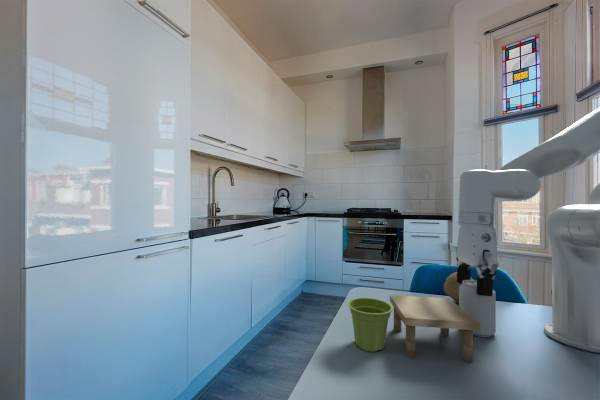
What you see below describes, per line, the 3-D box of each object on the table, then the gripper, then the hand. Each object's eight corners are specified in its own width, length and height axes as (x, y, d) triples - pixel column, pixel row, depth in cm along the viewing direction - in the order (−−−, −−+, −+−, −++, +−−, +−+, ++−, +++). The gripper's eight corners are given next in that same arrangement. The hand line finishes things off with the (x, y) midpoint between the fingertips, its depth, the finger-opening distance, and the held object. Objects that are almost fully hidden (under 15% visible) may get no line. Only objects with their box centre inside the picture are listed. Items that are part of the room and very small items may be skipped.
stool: (448, 331, 65) (448, 298, 66) (479, 364, 52) (479, 322, 52) (389, 327, 67) (390, 295, 67) (404, 358, 53) (405, 317, 53)
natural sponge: (478, 311, 79) (479, 277, 79) (444, 305, 83) (445, 273, 83) (474, 301, 87) (474, 270, 87) (443, 297, 91) (443, 267, 91)
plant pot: (391, 361, 52) (392, 316, 52) (343, 351, 55) (344, 309, 56) (392, 339, 61) (393, 300, 61) (351, 331, 64) (351, 295, 64)
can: (502, 340, 61) (502, 288, 61) (466, 336, 63) (466, 285, 63) (486, 326, 69) (486, 279, 69) (454, 323, 70) (454, 277, 70)
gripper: (516, 222, 57) (513, 302, 57) (473, 219, 74) (471, 280, 74) (478, 220, 58) (475, 299, 58) (445, 217, 75) (442, 278, 75)
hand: (473, 288), depth 66 cm, fingers open, 9 cm apart
